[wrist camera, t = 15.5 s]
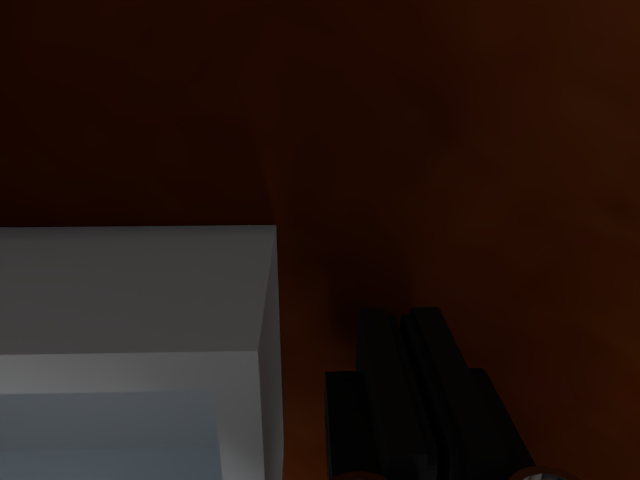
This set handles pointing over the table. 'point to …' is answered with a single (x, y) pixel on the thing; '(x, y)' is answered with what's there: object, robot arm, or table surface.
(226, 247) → the tray
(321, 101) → the table surface
